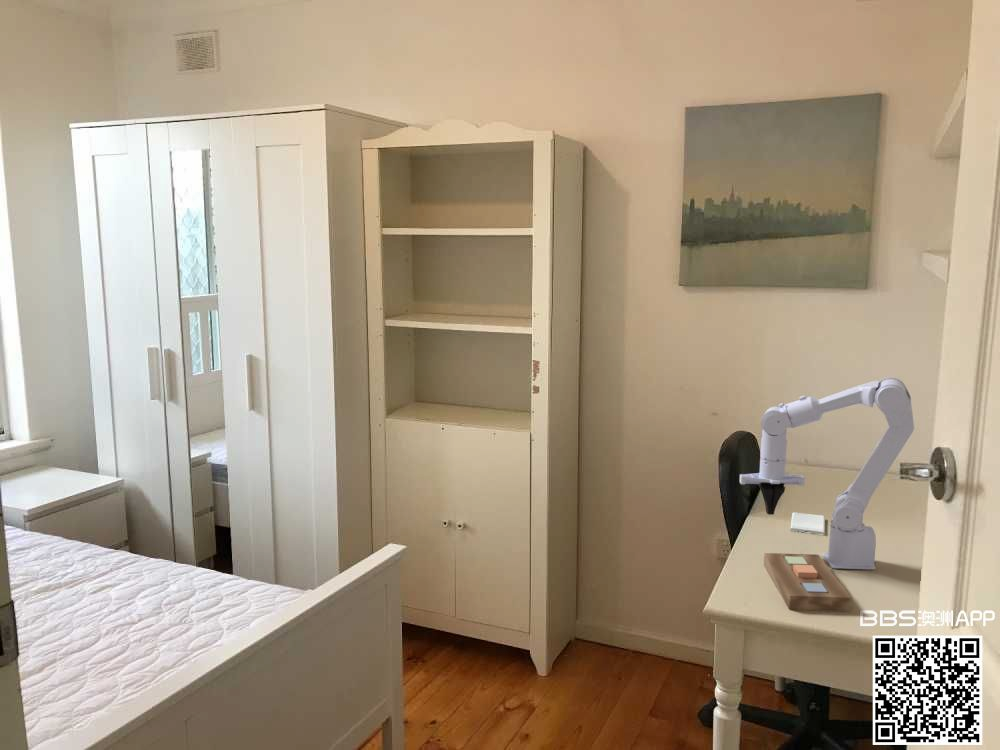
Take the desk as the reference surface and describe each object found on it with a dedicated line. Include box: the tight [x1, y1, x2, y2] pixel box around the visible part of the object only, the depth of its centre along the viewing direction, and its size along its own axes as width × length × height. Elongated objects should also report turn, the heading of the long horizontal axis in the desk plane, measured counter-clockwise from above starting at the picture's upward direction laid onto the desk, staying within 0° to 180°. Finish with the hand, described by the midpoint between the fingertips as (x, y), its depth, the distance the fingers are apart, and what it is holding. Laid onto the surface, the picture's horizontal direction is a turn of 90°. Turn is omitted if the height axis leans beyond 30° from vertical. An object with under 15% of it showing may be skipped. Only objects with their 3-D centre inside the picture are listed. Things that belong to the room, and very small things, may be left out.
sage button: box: [784, 556, 808, 565], centre depth 181 cm, size 4×4×2 cm
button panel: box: [763, 552, 852, 613], centre depth 175 cm, size 12×22×3 cm, turn 175°
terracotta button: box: [793, 565, 818, 579], centre depth 174 cm, size 4×4×2 cm
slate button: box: [802, 583, 828, 593], centre depth 168 cm, size 4×4×2 cm
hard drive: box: [790, 511, 826, 536], centre depth 211 cm, size 2×8×12 cm
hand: (769, 513), depth 193 cm, fingers closed
